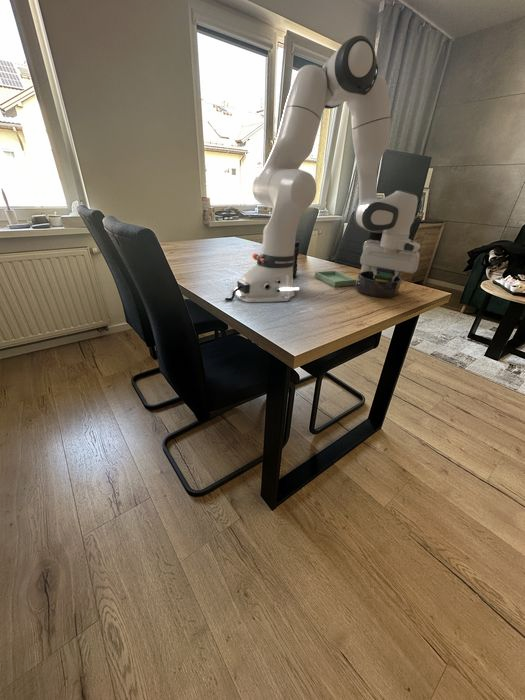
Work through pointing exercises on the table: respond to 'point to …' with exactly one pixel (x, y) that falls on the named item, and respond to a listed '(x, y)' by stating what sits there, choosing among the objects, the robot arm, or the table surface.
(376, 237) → the spray can
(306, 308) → the table surface
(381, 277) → the sponge
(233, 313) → the table surface
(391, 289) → the bowl
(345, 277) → the dish
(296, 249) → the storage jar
